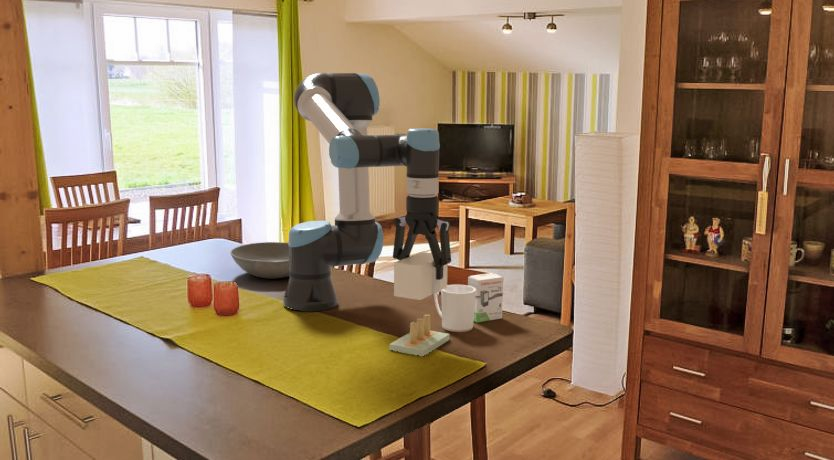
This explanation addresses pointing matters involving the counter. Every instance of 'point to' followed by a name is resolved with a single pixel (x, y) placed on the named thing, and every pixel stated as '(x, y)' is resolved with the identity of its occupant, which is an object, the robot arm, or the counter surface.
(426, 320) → the header block
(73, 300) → the counter surface
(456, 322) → the mug
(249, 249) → the bowl
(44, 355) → the counter surface
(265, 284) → the counter surface
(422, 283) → the white rectangular block
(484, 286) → the ink box
